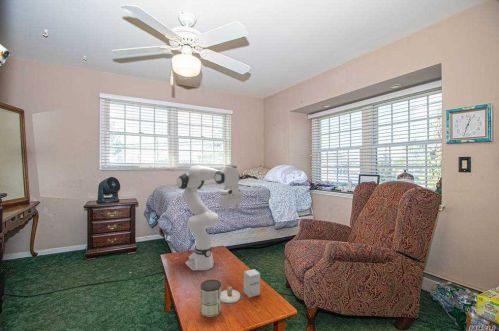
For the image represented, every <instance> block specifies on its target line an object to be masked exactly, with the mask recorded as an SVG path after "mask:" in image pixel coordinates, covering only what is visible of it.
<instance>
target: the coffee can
mask: <svg viewBox="0 0 499 331" xmlns="http://www.w3.org/2000/svg"><path fill="white" fill-rule="evenodd" d="M221 289H222V283H221V281H220V280H217V279H207V280H204V281H202V282H201V283H200V314H201V315H202V316H203V317H207V318H209V317H210V318H211V317H216V316H218V315H219V314H220V313H221V310H222V309H221V308H222V306H221V304H222V303H221V292H222V290H221Z"/></svg>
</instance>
